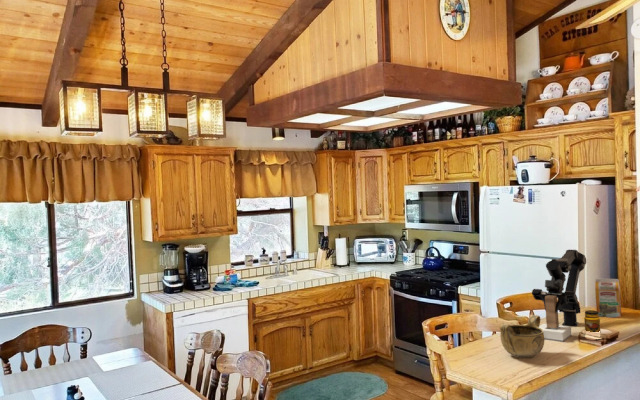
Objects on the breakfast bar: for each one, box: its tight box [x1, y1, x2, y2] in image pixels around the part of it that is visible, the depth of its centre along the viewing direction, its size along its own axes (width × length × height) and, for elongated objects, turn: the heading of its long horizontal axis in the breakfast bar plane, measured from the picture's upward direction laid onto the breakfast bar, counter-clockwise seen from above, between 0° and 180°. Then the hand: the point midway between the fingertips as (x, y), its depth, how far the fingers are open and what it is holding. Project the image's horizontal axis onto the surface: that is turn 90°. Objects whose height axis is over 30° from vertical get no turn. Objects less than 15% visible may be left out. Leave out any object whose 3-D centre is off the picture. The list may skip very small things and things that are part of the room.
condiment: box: [583, 309, 601, 332], centre depth 227 cm, size 7×8×12 cm
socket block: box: [539, 323, 572, 343], centre depth 232 cm, size 12×12×4 cm
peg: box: [544, 295, 560, 328], centre depth 232 cm, size 4×4×14 cm
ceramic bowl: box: [499, 314, 545, 359], centre depth 208 cm, size 22×17×15 cm
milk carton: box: [594, 278, 622, 319], centre depth 263 cm, size 10×11×19 cm
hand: (550, 311), depth 231 cm, fingers closed on peg, 4 cm apart
